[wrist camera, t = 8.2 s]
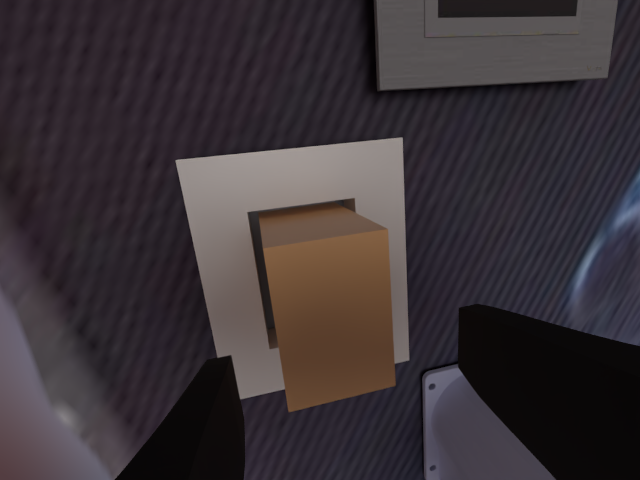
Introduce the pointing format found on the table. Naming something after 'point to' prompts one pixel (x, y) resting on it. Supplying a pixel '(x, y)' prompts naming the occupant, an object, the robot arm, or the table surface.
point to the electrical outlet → (491, 42)
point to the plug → (329, 302)
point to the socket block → (246, 243)
